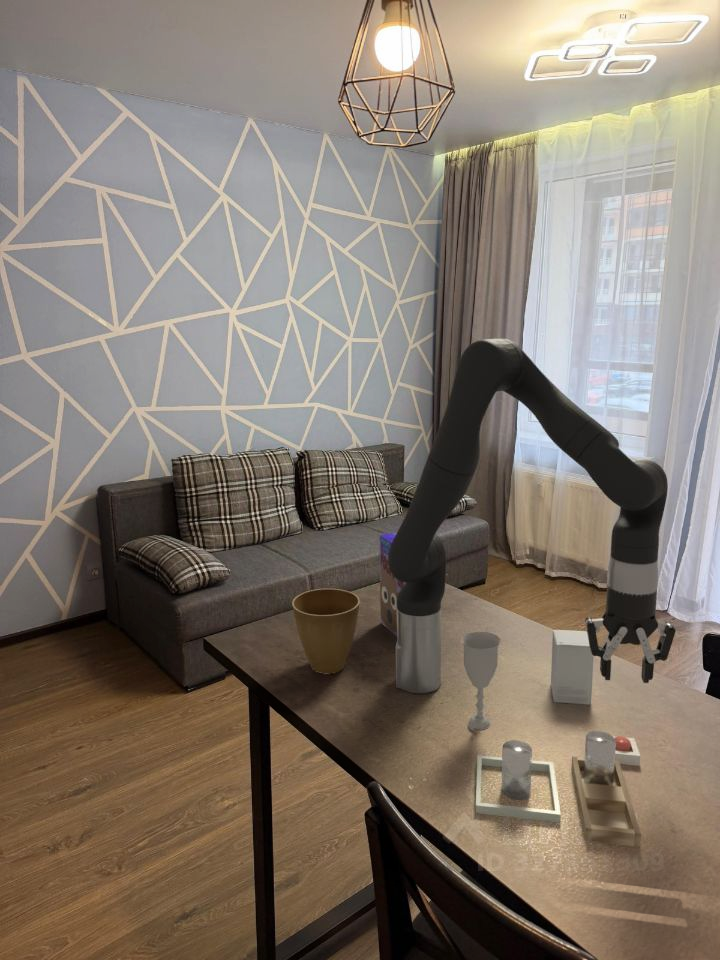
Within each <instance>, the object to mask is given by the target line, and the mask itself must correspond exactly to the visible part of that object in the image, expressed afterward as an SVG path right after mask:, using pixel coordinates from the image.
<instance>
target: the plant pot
mask: <svg viewBox="0 0 720 960" xmlns="http://www.w3.org/2000/svg"><path fill="white" fill-rule="evenodd" d="M360 602H361V601H360V597H359V596H358V595H356V594H355V593H353V592H351V591H348V590H344V589H339V588H319V589H318V588H317V589H312V590H307V591H304V592H301V593H300V594H298V595H297V596H295V597H294V598H293V600H292V602H291V605H292V611H293V616H294V620H295V625H296V629H297V632H298V633H297V634H298V636H299V638H300V642H301V646H302V648H303V651H304V654H305V656H306V659H307V661H308V662H309V666H310V667H312V668H313V669H314V670H315V671H318V672H322V673H333V672H337V673H339V672H341V671H342V670H343V669H344V668H345V664H346V662H347V659H348V657H349V654H350V651H351V647H352V645H353V641H354V638H355V632H356V628H357V622H358V615H359V609H360ZM312 668H311V669H312ZM313 669H312V670H313ZM340 670H341V671H340ZM315 671H314V672H315ZM338 671H339V672H338Z"/></svg>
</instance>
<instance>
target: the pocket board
mask: <svg viewBox="0 0 720 960" xmlns="http://www.w3.org/2000/svg"><path fill="white" fill-rule="evenodd" d="M584 762H585V756H584V757H583V756H573V755H572V756H571V771H572V777H573V782H574V787H575V788H574V789H575V793H576V798H577V804H578V809H579V813H580V814H579V815H580V820H581V825H582V830H583V831H582V832H583V837H584V841H587V842H596V843H603V844H610V845H611V844H612V845H622V846H629V847H637V848H640V847H641V840H642V839H641V838H642V833H641V829H640V827H639V824H638V819H637V816H636V814H635V810H634V806H633V803H632V800H631V797H630V794H629V790H628V786H627V782H626V780H625V776H624V773H623V770H622V769H623V768H622V766H621V764H620V763H619V761H616V760H615V766H614V782H613V786H609V785H599V784H589V783H584V782H583V780H584Z"/></svg>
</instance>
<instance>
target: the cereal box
mask: <svg viewBox="0 0 720 960" xmlns="http://www.w3.org/2000/svg"><path fill="white" fill-rule="evenodd" d="M396 534H397V532H393V533H392V532H389V533H385V534H380V535H378V542H379V543H378V544H379V545H378V547H379V548H378V551H379V556H378V557H379V558H378V560H379V591H380V593H379V594H380V596H379V597H380V599H379V600H380V604H379V605H380V623H381V622H382V623H383V624H384V625H385V626H386V627H387V628H388V629H389V630H391V631H390V632H391V633H392V632H393V633H394V634H395V635H396V636H395V635H394V634H393V633H392V634H393V635H394V636H395V637H397V602H396V601H397V595H398V593H399V591H400V590H401V589H402V588H403V586H404V585H405V583H406V582H402V581H399V580H397V579H396V578H395V577H394V576H393V575H392V573H391V571H390V568H389V564H388V553H389V549H390V546H391V544H392V542H393V540H394V538H395V536H396ZM385 626H384V627H385ZM386 627H385V628H386ZM387 628H386V629H387ZM388 629H387V630H388ZM389 630H388V631H389Z"/></svg>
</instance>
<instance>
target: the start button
mask: <svg viewBox="0 0 720 960" xmlns="http://www.w3.org/2000/svg"><path fill="white" fill-rule="evenodd" d="M614 737H615V740H616V751H627V752H630V741H629V740H628V739H627V738H628V737H626V738H625V736H620V735H619V736H618V735H617V736H614Z"/></svg>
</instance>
